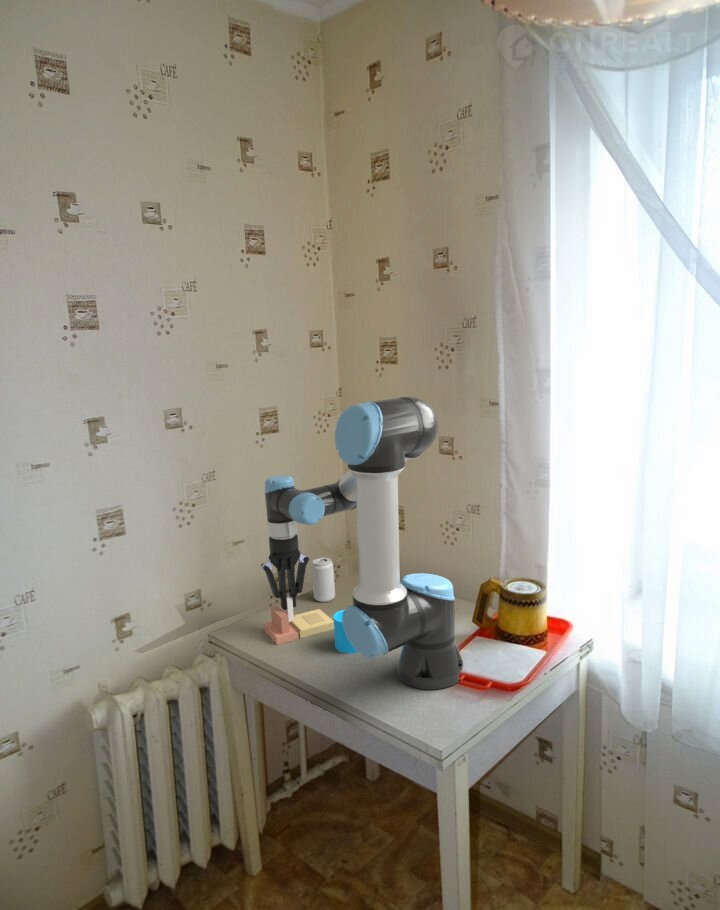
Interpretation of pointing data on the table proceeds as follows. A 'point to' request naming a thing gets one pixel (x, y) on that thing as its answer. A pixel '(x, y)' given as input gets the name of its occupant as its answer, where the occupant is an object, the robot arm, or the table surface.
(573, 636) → the table surface
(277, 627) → the pink stepped block
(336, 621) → the mug
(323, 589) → the beverage can
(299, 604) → the table surface
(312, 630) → the tan flat square block
